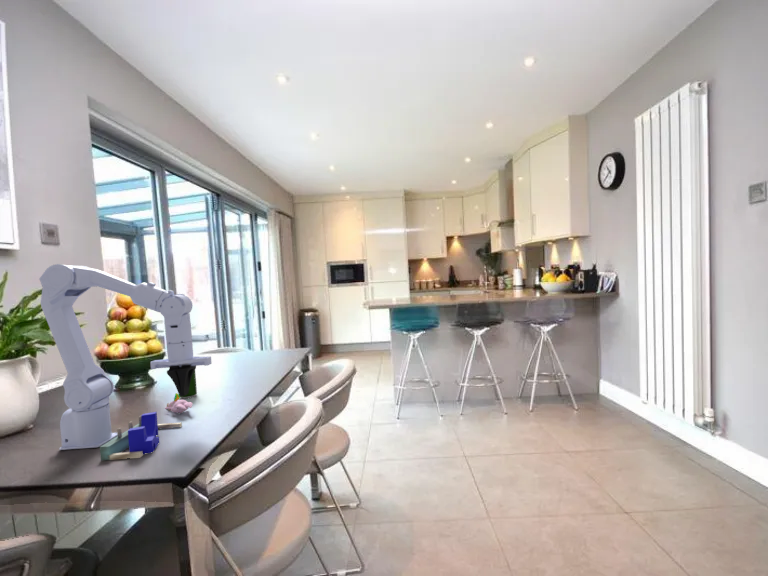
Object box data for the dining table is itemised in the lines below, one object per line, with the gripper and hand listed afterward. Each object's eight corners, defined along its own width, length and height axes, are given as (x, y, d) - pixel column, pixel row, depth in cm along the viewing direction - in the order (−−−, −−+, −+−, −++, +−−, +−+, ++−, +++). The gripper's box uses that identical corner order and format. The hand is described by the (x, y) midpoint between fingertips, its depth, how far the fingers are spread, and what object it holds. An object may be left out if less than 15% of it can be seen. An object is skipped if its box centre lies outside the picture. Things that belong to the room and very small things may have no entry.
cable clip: (153, 453, 86) (150, 427, 86) (129, 457, 84) (127, 430, 84) (165, 433, 97) (163, 410, 97) (144, 437, 96) (142, 413, 96)
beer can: (195, 393, 133) (192, 359, 133) (198, 396, 129) (196, 361, 128) (178, 397, 130) (175, 362, 129) (180, 400, 125) (178, 364, 125)
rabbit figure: (161, 415, 116) (177, 417, 106) (158, 395, 116) (174, 396, 106) (183, 409, 120) (200, 411, 110) (180, 390, 121) (197, 390, 111)
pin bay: (100, 460, 83) (99, 438, 83) (149, 428, 101) (148, 409, 101) (140, 457, 83) (138, 435, 83) (181, 426, 101) (180, 407, 101)
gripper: (141, 346, 93) (145, 401, 93) (200, 342, 93) (204, 397, 93) (158, 341, 100) (162, 393, 100) (213, 338, 100) (217, 389, 100)
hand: (183, 394), depth 97 cm, fingers closed
